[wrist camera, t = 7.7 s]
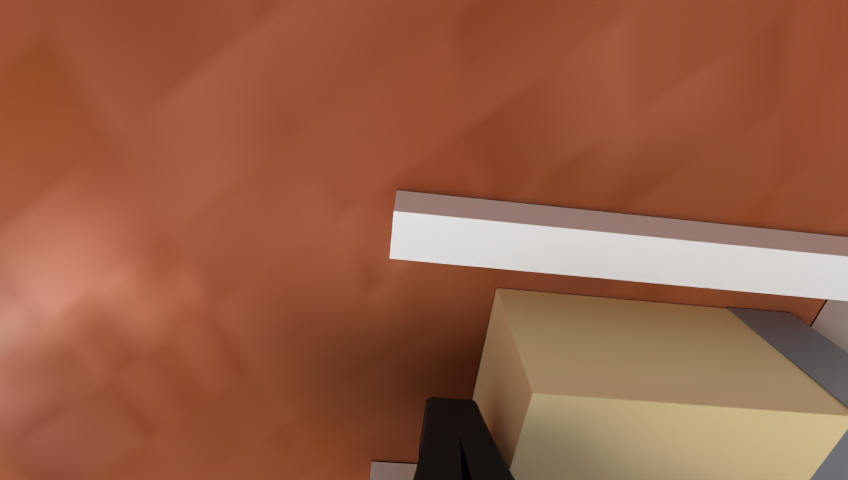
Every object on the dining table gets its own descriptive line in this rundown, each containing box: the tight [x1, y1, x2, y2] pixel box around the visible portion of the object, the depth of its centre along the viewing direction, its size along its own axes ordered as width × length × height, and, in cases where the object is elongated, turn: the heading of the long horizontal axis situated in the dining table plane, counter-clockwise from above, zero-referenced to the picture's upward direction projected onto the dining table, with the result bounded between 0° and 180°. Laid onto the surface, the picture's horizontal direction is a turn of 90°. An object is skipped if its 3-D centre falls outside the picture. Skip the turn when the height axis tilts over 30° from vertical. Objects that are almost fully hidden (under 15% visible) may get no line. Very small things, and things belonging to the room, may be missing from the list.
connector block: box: [472, 288, 848, 480], centre depth 12 cm, size 6×9×4 cm
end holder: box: [370, 190, 848, 480], centre depth 13 cm, size 11×14×2 cm
